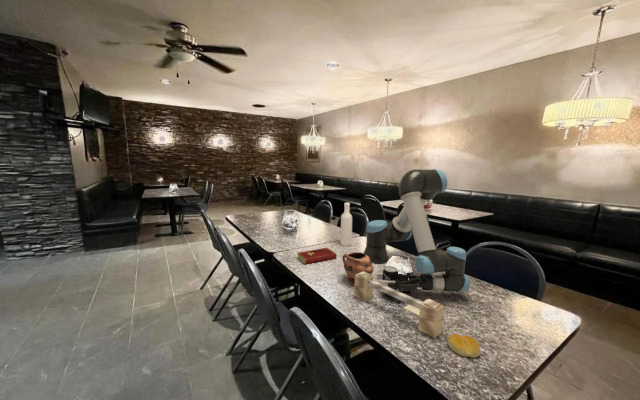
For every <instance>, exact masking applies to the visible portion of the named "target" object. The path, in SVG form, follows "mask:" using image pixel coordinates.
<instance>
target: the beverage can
mask: <svg viewBox="0 0 640 400" xmlns="http://www.w3.org/2000/svg"><path fill="white" fill-rule="evenodd" d="M398 272H399V271H398V268H397V267H395V266H392V265H389V266H388V265H387V266H384V268H383V270H382V273H383V281H395V283H396V281H398V282H399V280H398ZM389 288H392V287H389ZM392 289H394V290H396V291H398V289H396V288H392ZM381 293H382V294H383V295H384V296H386V297H387V298H388V297H389V298H393V297H392V296H390V295H388V294H386V293H384V292H381Z"/></svg>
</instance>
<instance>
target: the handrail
mask: <svg viewBox="0 0 640 400" xmlns="http://www.w3.org/2000/svg"><path fill="white" fill-rule="evenodd" d="M373 289H375V290H377V291H379V292H381V293H382V292H384V293H386V294H388V295H390V296H392V297H391V298H394V299H397V300H399V301H402V302H403V303H405V304H407V305H412V306H414V307H416V308H418V309H420V314H419V316H418V326H417V327H418V329H417V330H418V331H420V332H422V333H424V334H425V335H427V336H430V337H431V338H433V339H436V338H437V337H439V335H440V334H441V333H442V329H443V317H444V309H445V308H444V306H445V305H442V304H441V303H439V302H438V301H435V300H433V299H430V298H426V299H425V300H423V301H424V302H421V301H419V300H417V299H418V298H414V297H413V296H411V295H410V296H409V295H408V294H406V293H403V292H402V291H399V290H397V291H396V290H394V289H392V288H389V287H387V286H385V285H383V284H380V282H378V281H376V280H374V275H372V274H368V273H366V272H364V271H363V272H360V273H358V274H356V275H355V285H354V296H353V297H355V296H356V298H358V299H359V300H360V301H363V302H367V301H369V300H371V299H372V298H373V294H374V293H373V291H374V290H373Z"/></svg>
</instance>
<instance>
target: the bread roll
mask: <svg viewBox="0 0 640 400" xmlns="http://www.w3.org/2000/svg"><path fill="white" fill-rule="evenodd" d="M447 344H448V347H449V348H450V349H451V350H452V351H453V352H454V353H455V354H457V355H459V356H462V357H466V358H471V359H472V358H478V357H479V356H480V355H481V352H480V351H481V350H480V345H479V343H478V341H477V340H476V339H475V338H473V337H472V336H471V335H468V334H467V335H465V334H464V335H460V334H457V333H453V334H450V336H449V337H448V338H447Z"/></svg>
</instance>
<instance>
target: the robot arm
mask: <svg viewBox="0 0 640 400" xmlns="http://www.w3.org/2000/svg"><path fill="white" fill-rule="evenodd" d="M447 187H448V178H447V174H446V173H445V172H444V171H443V170H442V169H435V168H434V169H433V168H432V169H417V168H416V169H415V168H413V169H411V170H408V171H407V172H405V173H404V175H402V177H401V179H400V181H399V186H398V193H399V197H400V200H401V201H403V203H404V204H403V205H404V206H403V207H402V209H401V211H400V212H399V215H398V216H394V217H393V219H392V220H391V222H388V221H386V220H383V219H376V220H375V219H374V220H371V221H369V222H368V223H367V227H366V245H365V248H364V251H363V252H362V253H363V254H365V255H367V256H368V257H369V258H370V261H371V263H372V264H375V265H377V264H379V265H380V264H381V265H382V264H386V263H387V262H386V261H387V260H388V261H389V255H388V250H387V243H392V242H404V241H408V240H410V239H411V237H412V236H413V239H414V243H415V247H416V250H417V253H418V255H417V256H416V257H415V258H414V266H415V269H416V271H417V272H418V273H419V274H420V275H417V274H414V272H413V271H410V272H411V273H407V275H402V274H398V281H396V283H395V281H383V272H382V273H381V272H377V274H376V276H377V277H376V280H379V283H380V284H383V285H385V286H387V287H392V288H396V289H397V291H399V292H411V291H412V292H415V291H416V292H423V291H430V292H431V291H433V292H453V293H455V292H456V293H460V292H461V293H464V292H465V293H466V292H469V290H470V288H471V283H470V278H469V276H468V275H467V274H465V269H466V261H467V252H466V250H465V249H463V248H461V247H457V246H449V247H447V248H446V251H445V252H444V253H438V251H437V247H436V246H435V242H434V241H435V240H434V238H433V235H432V231H431V228H430V225H429V222H428V219H427V216H426V212H425V208H424V206H425V205H426V204H427V202H428V201H431V200H433V199H434V198H435V197H436V196H437V194H441V193H444V192H445V191H446V190H447ZM385 262H386V263H385ZM442 272H443V273H442Z"/></svg>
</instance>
